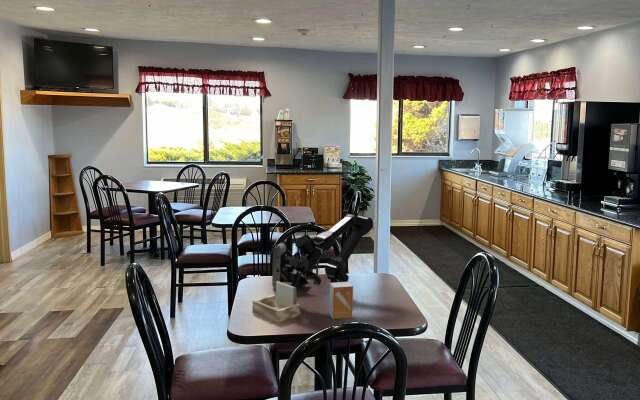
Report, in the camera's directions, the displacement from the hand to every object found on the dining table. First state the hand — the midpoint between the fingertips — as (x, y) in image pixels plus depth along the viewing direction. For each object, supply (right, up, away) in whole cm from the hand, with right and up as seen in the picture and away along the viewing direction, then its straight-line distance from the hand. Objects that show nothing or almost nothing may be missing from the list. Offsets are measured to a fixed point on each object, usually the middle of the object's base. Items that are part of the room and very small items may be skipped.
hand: (290, 291), depth 225 cm
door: (-2, -6, -3) cm, 7 cm away
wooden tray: (-5, -8, -5) cm, 11 cm away
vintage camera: (-1, -2, +29) cm, 29 cm away
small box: (+20, -8, -8) cm, 23 cm away
